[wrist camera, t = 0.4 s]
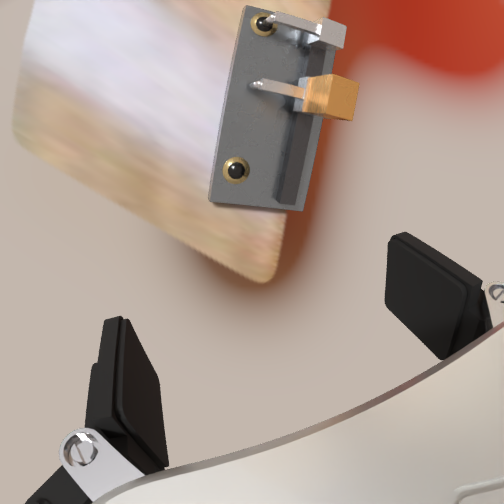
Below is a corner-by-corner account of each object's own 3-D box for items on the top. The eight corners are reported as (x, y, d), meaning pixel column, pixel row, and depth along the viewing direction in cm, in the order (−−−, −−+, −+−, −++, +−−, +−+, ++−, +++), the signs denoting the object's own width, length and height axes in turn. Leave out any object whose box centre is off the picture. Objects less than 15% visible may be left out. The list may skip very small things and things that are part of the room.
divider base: (242, 8, 29) (257, -8, 24) (332, 35, 33) (358, 27, 28) (207, 198, 38) (216, 213, 33) (298, 208, 42) (318, 223, 37)
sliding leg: (253, 68, 31) (279, 57, 24) (322, 86, 34) (361, 84, 27) (246, 102, 33) (271, 99, 25) (316, 117, 35) (354, 121, 28)
